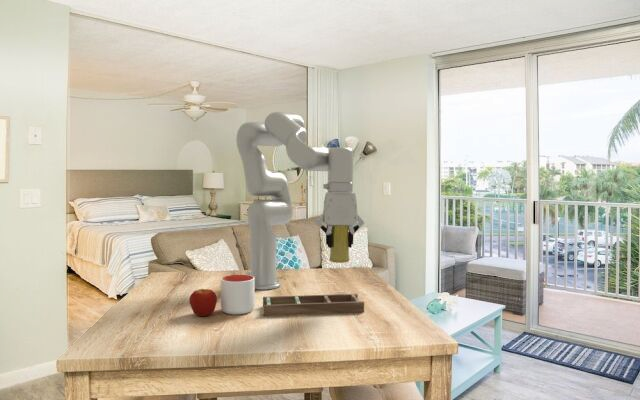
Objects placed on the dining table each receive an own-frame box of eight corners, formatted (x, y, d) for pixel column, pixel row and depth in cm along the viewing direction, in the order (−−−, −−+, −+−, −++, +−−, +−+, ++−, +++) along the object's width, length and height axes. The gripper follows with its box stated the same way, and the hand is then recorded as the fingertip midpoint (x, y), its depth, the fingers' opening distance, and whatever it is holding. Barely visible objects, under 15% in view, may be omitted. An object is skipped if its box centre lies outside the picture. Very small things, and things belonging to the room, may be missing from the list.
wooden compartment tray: (262, 306, 146) (262, 296, 146) (356, 302, 150) (356, 293, 150) (263, 315, 136) (263, 305, 136) (364, 311, 141) (364, 302, 141)
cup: (260, 307, 145) (260, 275, 144) (244, 317, 135) (244, 283, 135) (231, 304, 148) (231, 273, 147) (214, 313, 138) (214, 280, 138)
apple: (193, 320, 132) (192, 293, 132) (187, 313, 139) (186, 287, 138) (220, 316, 136) (219, 290, 135) (213, 309, 143) (212, 284, 142)
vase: (347, 263, 140) (348, 216, 139) (327, 262, 141) (328, 215, 141) (350, 259, 146) (351, 214, 145) (331, 258, 147) (331, 213, 146)
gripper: (314, 188, 137) (313, 249, 139) (370, 188, 140) (369, 248, 141) (310, 187, 145) (310, 245, 146) (364, 187, 147) (363, 244, 149)
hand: (339, 246), depth 144 cm, fingers closed on vase, 5 cm apart
